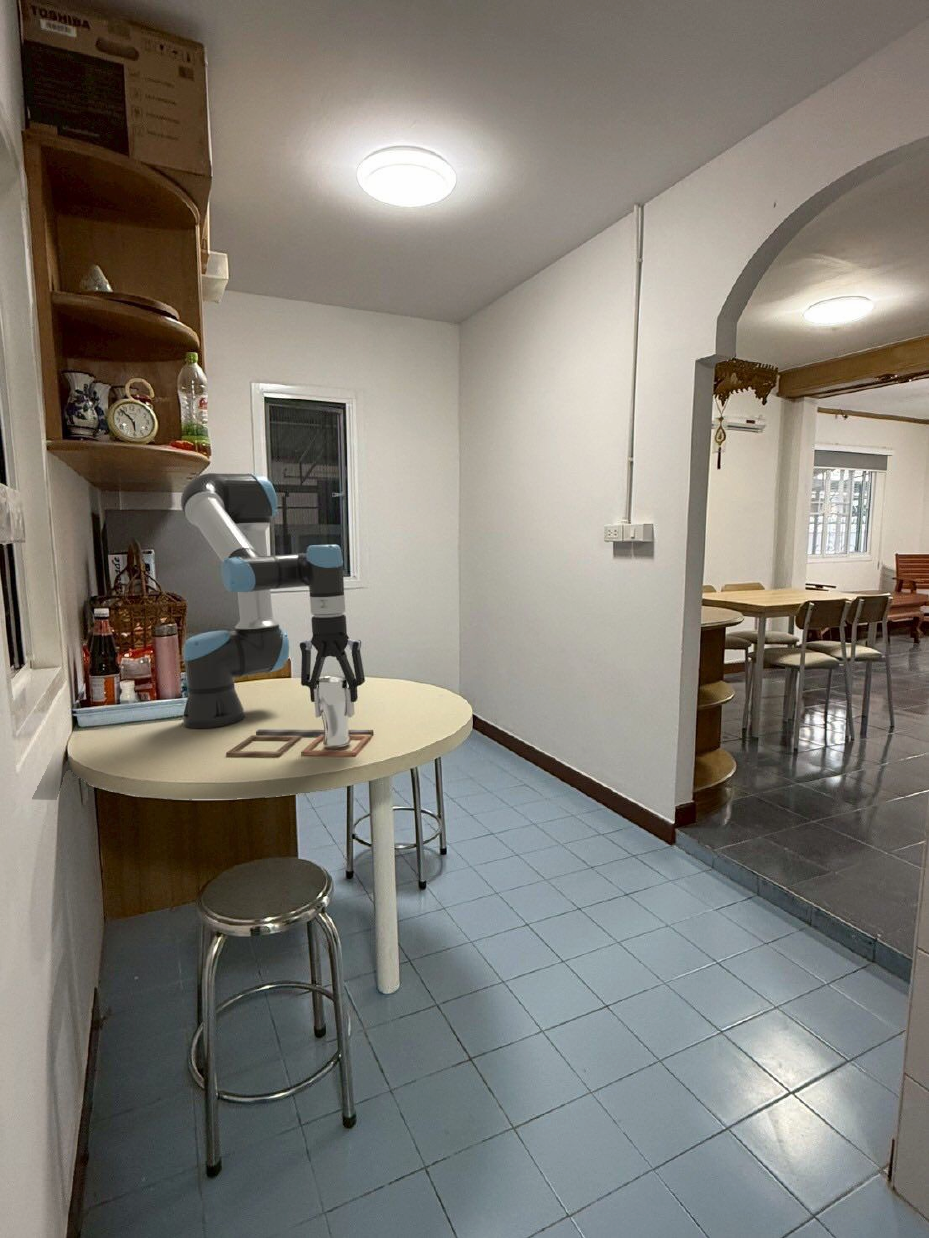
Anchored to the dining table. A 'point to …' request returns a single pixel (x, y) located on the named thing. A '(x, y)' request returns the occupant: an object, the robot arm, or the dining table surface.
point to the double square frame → (296, 736)
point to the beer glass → (334, 710)
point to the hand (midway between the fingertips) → (335, 715)
